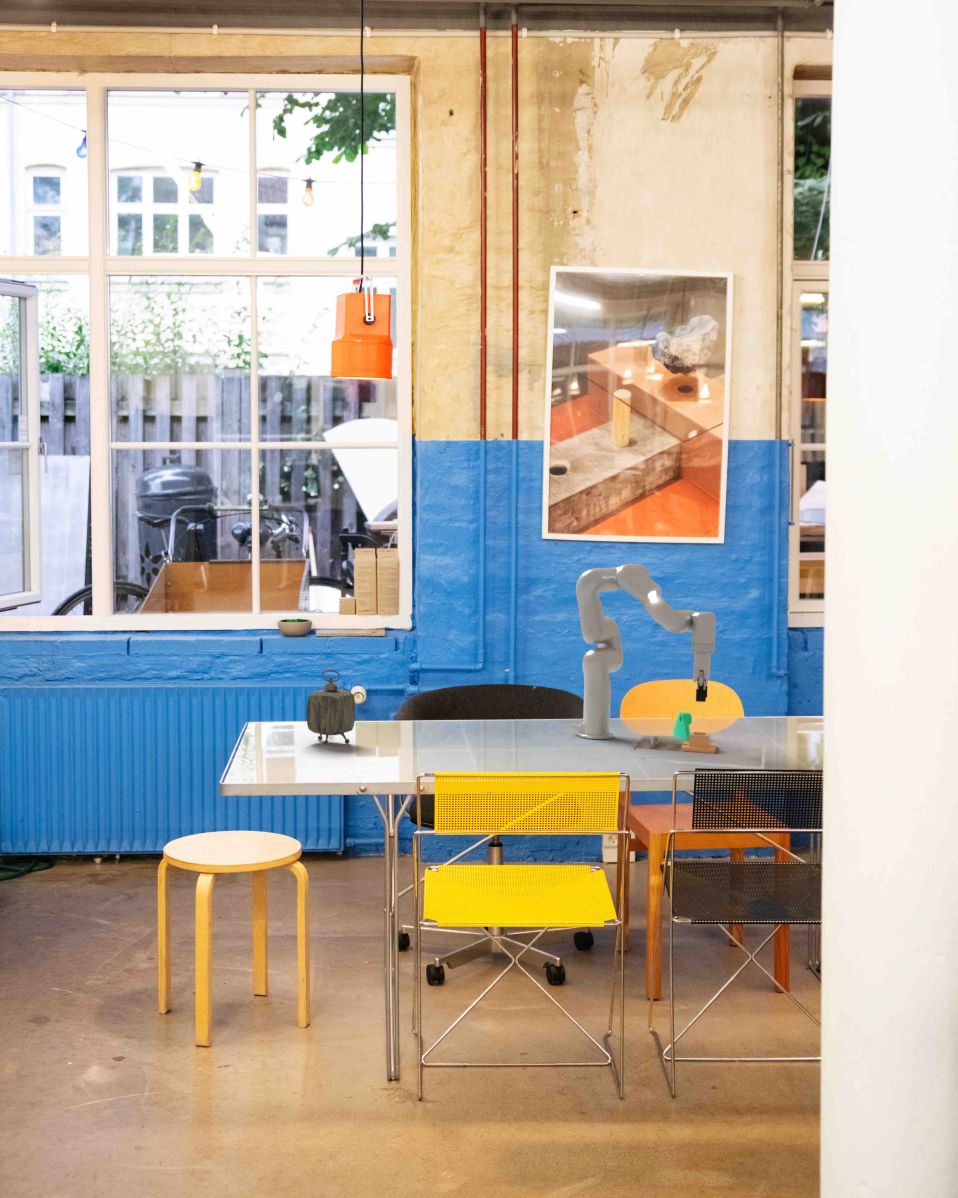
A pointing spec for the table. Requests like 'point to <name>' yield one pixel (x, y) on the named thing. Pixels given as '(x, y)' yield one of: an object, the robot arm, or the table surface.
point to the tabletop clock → (331, 710)
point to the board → (661, 745)
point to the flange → (699, 743)
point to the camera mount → (683, 726)
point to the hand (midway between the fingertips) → (701, 699)
